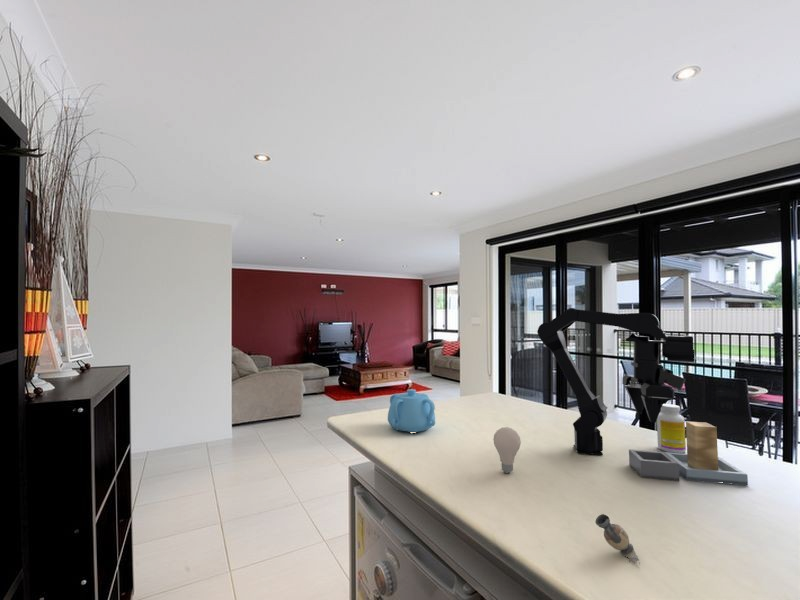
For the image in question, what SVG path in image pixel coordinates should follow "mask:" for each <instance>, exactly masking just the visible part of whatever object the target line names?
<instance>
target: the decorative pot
mask: <svg viewBox="0 0 800 600" xmlns="http://www.w3.org/2000/svg"><path fill="white" fill-rule="evenodd" d="M389 404H390V405H389V408H388V412H387V422H388V423H389V425H390V427H391V428H392V429H394V430H395V429H398V430H399V431H403V432H408V433H409V432H419V433H420V432H423V431H427V429H428V430H429V429H432V427H434V426H435V425H436V413H435V409H436V407H435V403H434V402H433V401H432V399H430V397H429V396H428V394H426V393H419V392H418V393H417V390H416V389H413V388H410V389H407V390H406V392H402V393H393V394H392V395H390V398H389ZM398 430H397V431H398Z"/></svg>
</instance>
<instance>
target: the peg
mask: <svg viewBox="0 0 800 600" xmlns="http://www.w3.org/2000/svg"><path fill="white" fill-rule="evenodd" d="M685 437H686V452H687V453H686V454H687V460H688V466H689V467H691V468H694V469H705V470H717V471H718V457H719V452H718V451H719V450H718V449H719V448H718V431H717V426H714V425H712V424H711V423H708V422H706V421H705V422H704V421H703V422H702V421H700V422H699V421H689V420H688V421H685Z"/></svg>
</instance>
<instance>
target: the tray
mask: <svg viewBox="0 0 800 600" xmlns="http://www.w3.org/2000/svg"><path fill="white" fill-rule="evenodd" d="M663 452H664V453H666V454H667V455H668V456H670V457H671V458H672V459H673V460H675V461H676V462H677V463H679V476H681V477H682V478H684V479H685V480H686V481H692V482H693V481H694V482H701V481H704V482H703V483H713V482H723V483H722V484H724V483H732V484H731V485H735V484H739V485H738V486H746V485H748V486H749V480H748V474H747V473H746V472H744V471H743V470H741V469H739V468H737V467H736V466H734V465H732V464H731V463H730V462H727V461H726V460H724V459H723V458H721V457H720V456H718V471H717V470H705V469H694V468H691V467H689V466H688V460H687V453H671V452H666V451H663Z"/></svg>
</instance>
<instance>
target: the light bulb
mask: <svg viewBox="0 0 800 600" xmlns="http://www.w3.org/2000/svg"><path fill="white" fill-rule="evenodd" d="M492 440H493V445H494V447H495V449H496V451H497V453H498V455H499V461H500V462H501V470H502V471H503V472H504V473H506V474H510V473H512V472H513V471H514V463H515V458H516V456H517V453H518V451H519V450H520V449H521V443H522V441H521V437H520V435H519V434H518V432H517V431H516V430H515V429H513V428H511V427H508V426H505V427H501V428H499V429H498V430H496V432H495V433H494V434H493V439H492Z"/></svg>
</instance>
